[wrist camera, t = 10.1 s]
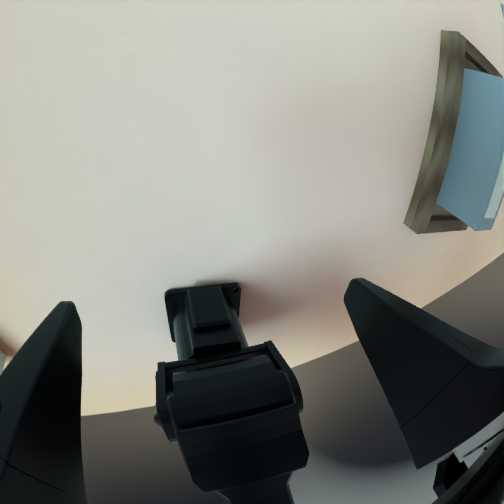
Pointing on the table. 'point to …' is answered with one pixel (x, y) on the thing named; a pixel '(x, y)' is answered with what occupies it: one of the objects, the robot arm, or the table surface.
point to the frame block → (476, 153)
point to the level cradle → (443, 134)
